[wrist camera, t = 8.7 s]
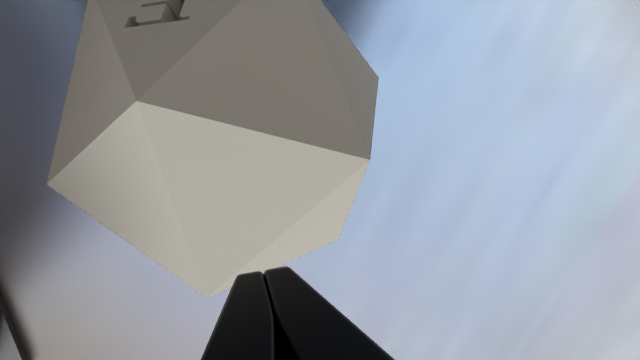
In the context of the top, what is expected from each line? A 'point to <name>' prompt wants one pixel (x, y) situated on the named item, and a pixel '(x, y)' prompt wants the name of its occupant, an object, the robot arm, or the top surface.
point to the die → (215, 131)
